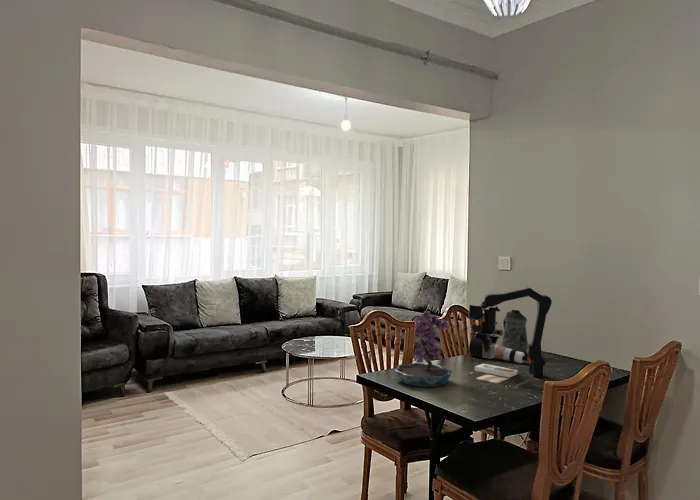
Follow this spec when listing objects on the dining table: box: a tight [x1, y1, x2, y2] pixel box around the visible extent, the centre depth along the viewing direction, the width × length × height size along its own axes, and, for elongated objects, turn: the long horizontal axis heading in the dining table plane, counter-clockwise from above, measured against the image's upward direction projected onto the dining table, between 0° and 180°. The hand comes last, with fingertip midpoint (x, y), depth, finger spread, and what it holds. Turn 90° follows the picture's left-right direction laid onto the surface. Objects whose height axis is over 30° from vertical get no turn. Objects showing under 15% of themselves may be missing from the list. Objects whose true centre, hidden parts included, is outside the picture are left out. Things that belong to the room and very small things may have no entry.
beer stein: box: [500, 309, 529, 357], centre depth 310 cm, size 16×19×25 cm
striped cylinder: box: [468, 336, 532, 364], centre depth 292 cm, size 10×34×10 cm, turn 54°
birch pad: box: [475, 373, 509, 386], centre depth 249 cm, size 11×11×1 cm
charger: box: [481, 343, 496, 360], centre depth 263 cm, size 4×4×7 cm
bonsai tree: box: [393, 310, 453, 388], centre depth 246 cm, size 35×27×33 cm
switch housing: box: [474, 363, 518, 379], centre depth 261 cm, size 18×9×4 cm, turn 49°
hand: (488, 351), depth 263 cm, fingers closed on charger, 4 cm apart
